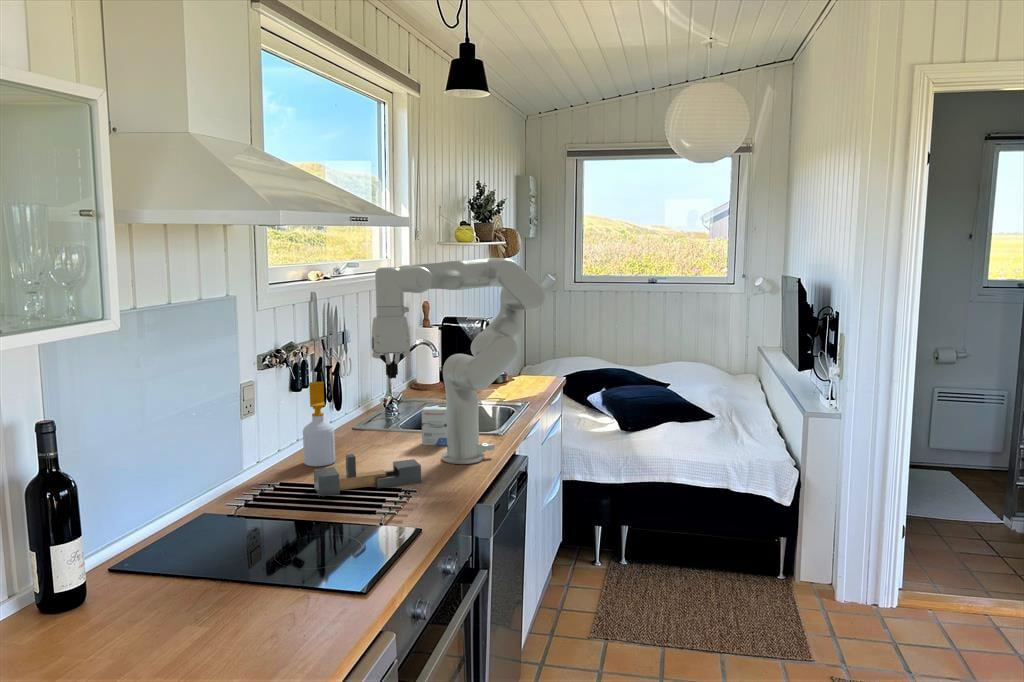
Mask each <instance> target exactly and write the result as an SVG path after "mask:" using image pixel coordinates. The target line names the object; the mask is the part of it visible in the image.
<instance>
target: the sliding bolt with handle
mask: <svg viewBox="0 0 1024 682" xmlns="http://www.w3.org/2000/svg"><path fill="white" fill-rule="evenodd" d="M356 465H357V464H356V455H355V454H354V453H350V454H345V468H346V470H345V472H346V474H341V475H340V474H339V483H340V491H344V490H345V491H346V490H353V489H361V488H367V487H375V486H376V478H383V477H386V473H385V472H384V471H385V470H384V469H381V470H373V471H365V472H358V473H357V467H356ZM376 487H377V486H376Z"/></svg>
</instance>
